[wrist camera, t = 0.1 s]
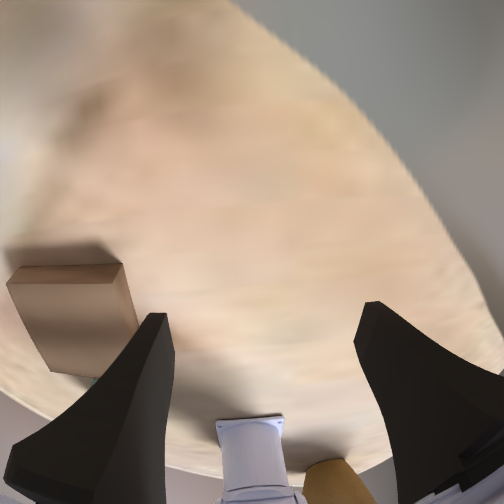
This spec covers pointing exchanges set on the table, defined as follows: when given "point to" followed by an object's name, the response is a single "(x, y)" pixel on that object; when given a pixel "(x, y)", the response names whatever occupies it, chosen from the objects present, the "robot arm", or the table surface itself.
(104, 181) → the table surface
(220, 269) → the table surface
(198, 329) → the table surface
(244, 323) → the table surface
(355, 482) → the plant pot
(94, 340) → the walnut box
